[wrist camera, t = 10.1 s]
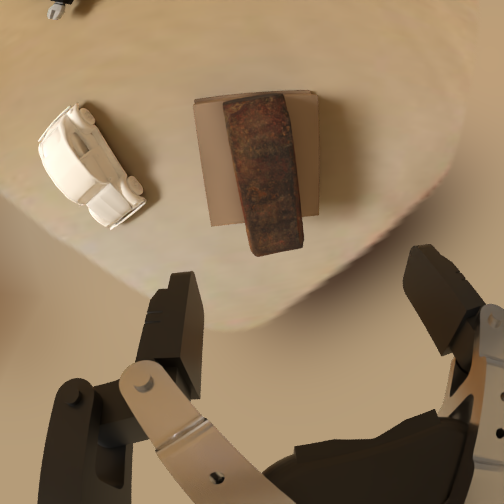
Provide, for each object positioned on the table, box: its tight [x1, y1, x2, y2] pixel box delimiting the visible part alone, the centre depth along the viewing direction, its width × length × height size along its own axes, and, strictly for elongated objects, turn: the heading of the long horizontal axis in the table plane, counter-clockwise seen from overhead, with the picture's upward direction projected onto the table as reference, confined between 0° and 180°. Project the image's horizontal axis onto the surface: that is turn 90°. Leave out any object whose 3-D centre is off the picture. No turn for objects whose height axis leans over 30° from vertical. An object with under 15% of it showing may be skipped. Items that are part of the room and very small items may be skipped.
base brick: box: [193, 90, 319, 227], centre depth 23 cm, size 9×10×4 cm
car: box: [38, 103, 147, 230], centre depth 22 cm, size 12×6×5 cm, turn 31°
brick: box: [223, 93, 304, 257], centre depth 20 cm, size 11×4×5 cm, turn 9°
